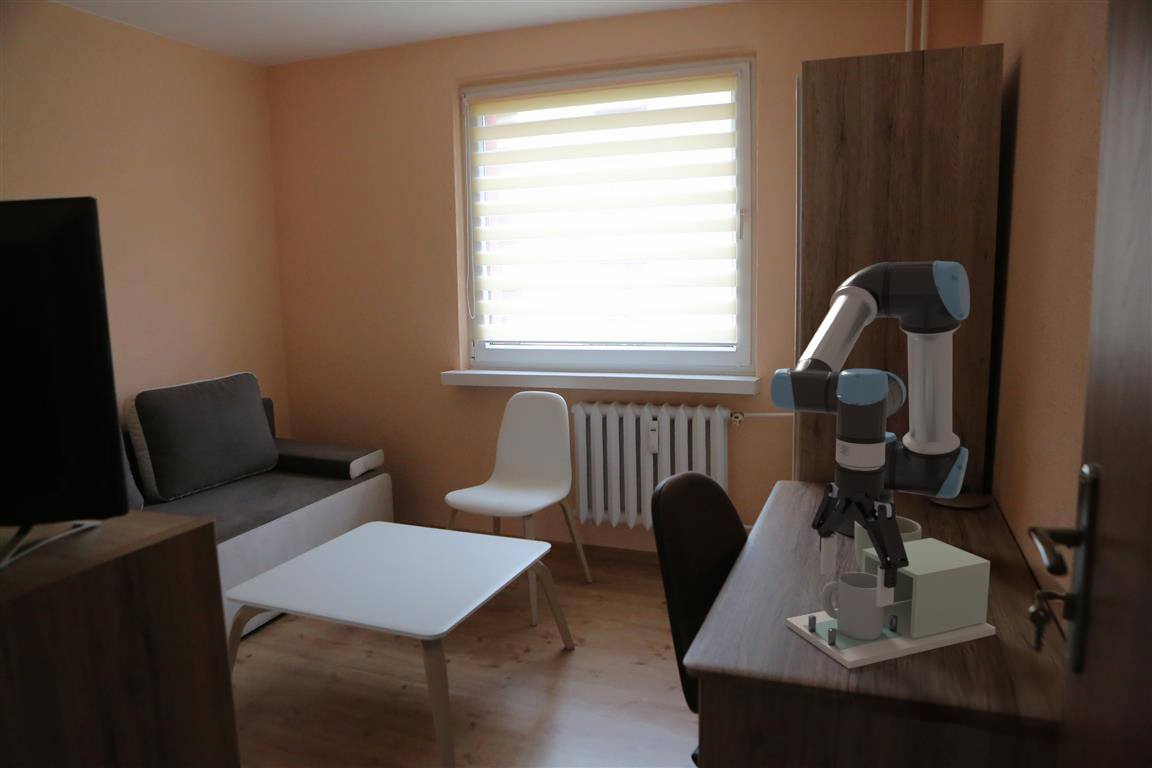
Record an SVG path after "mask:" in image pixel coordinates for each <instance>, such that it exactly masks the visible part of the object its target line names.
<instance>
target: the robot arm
mask: <svg viewBox="0 0 1152 768" xmlns="http://www.w3.org/2000/svg"><path fill="white" fill-rule="evenodd" d="M969 283H970V282H969V277H968V274H967V272H966V270H965V267H964V266H963V265H962V264H961V263H960V262H956V261H942V260H927V261H924V260H923V261H922V260H921V261H896V262H894V261H893V262H892V261H886V262H885V261H884V262H879V263H875V264H872V265H868V266H866V267H864V268H862V269H860V270H858V271H857V272H855V273H853V274H852V275H851V276H849V277H848V278H846V280H844V281H843V282H842V283H841V284H840V285H839V286H838V287H837V288H836V290H835V291H834V293H833V294H832V296H831V298H830V301H829V311H828V312H827V314H826V315H825V317H824V319H823V320H822V322H821V323H820V325H819V327H818V329H817V330H816V332H815V334H814V335H813V337H812V338H811V340H810V342H809V343H808V345H807V346H806V348H805V350H804V351H803V353H802V354H801V356H800V357H799V360H798V361H797V363H796V364H795V366H794V367H793V368H791V367H787V368H779V369H776V370H775V372H773V374H772V377H771V380H770V384H769V394H770V400H771V403H772V404H773V405H774V407H776V408H777V409H784V410H787V411H788V410H790V411H793V412H805V413H818V414H831V415H836V433H835V435H836V436H835V440H836V441H835V442H836V443H835V461H836V462H837V463H836V465H835V466H834V482H830V483H825V485H824V492H823V496H822V499H821V501H820V503H819V505H818V508H817V511H816V513H815V515H814V518H813V520H812V522H811V524H810V525H811V529H812V530H813V531H815V530H816V531H817V534H818V536H819V553H820V569H819V570H820V573H819V574H820V575H822V576H824V575H829V574H835V573H836V572H837V552H838V551H837V550H838V549H837V548H838V547H837V546H838V545H837V544H838V537H837V536H835V535H836V534H837V532H838V533H840V534H842V535H846V536H848V537H849V536H850V537H854V538H855V521H856V522H858V523H860V524H861V526H862V528H864V529H866V531H867V533H868V535H869V537H870V540H871V542H872V544H873V546H874V548H875V551H876V553H877V555H878V557H879V559H880V561H881V564H882V565H881V566H878V576H877V600H876V605H877V606H879V607H882V606H887V605H891V604H893V599H894V587H896V585H897V569H898V568H903V567H907V566H909V561H908V558H907V555H906V551H905V548H904V544H903V541H902V538H901V534H900V531H899V527H898V524H897V521H896V516H898V515H897V510H896V505H895V503H894V492H899V493H908V494H914V495H922V496H928V497H933V498H935V499H938V498H942V499H954V498H956V497H957V496H959V494H960V491H961V488H962V486H963V482H964V478H965V476H966V475H965V474H966V471H967V470H966V469H967V466H968V465H967V464H968V461H969V450H968V448H966V447H964V446H961V440H960V438H959V436H958V435H957V434H955V433H954V432H953V335H954V334H953V333H955V332H957V330H958V329H959V328H960V327H961V324H962V321H963V320H965V319H967V318H968V317H969V314H970V310H971V302H970V301H971V294H970V293H971V291H970V284H969ZM878 318H879V319H880V318H891V319H898V320H899V321H898V323H899V329H900V331H902V332H903V333H904V334H906V336H907V372H908V379H907V380H908V381H907V382H908V417H909V419H908V420H909V421H908V423H909V426H908V427H909V431H908V432H907V433H906V434H905V435H904V436H903V437H902V441H901V440H898V438H897V436H896V434H895V433H893V432H889V431H886V429H887V418H888V417H890V416H892V415H894V414H896V413H897V412H898V411H899V410H900V409H901V407H902V406H903V405H904V403H905V401H906V398H907V388H906V385H905V384H904V382H903V380H902V379H901V377H899V376H898V375H896V374H894V373H892V372H889V371H883V370H880V369H876V368H851V369H844V370H842V368H843V367H844V365H845V362H846V361H847V358H848V357H849V355H850V353H851V352H852V350H853V348H854V346H855V344H856V343H857V340H858V339H859V337H860V335H861V333H862V332H863V330H864V328H865V326H868V325H870V324H872V322H873V321H874V319H878ZM841 370H842V371H841ZM872 518H874V521H870V520H872ZM888 557H889V560H888Z"/></svg>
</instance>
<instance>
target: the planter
mask: <svg viewBox="0 0 1152 768" xmlns="http://www.w3.org/2000/svg"><path fill="white" fill-rule="evenodd" d="M870 521H874V518H872V520H870ZM896 521H897V524H898V527H899V531H900V534H901V538H902V541H903V542H909V541H915V540H921V539H922V526H921V524H920V523H919V522H916V521H915V520H913V519H909V518H906V517H903V516H898V515H897V516H896ZM868 548H874V546H873V544H872V542H871V540H870V537H869V535H868V533H867V531H866V529H864V528H862V526H861V524H860V523H858V522H856V521H855V537H854V549H855V558H856V559H855V560H856V564H857V565H858V568H859V569H860V570H862V549H868Z"/></svg>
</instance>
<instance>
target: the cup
mask: <svg viewBox="0 0 1152 768" xmlns="http://www.w3.org/2000/svg"><path fill="white" fill-rule="evenodd" d="M834 591H838V592H837V608H838V610H835V609H836V608H834V606H833V605H832V596H833V593H834ZM876 600H877V576H875V575H872V574H868V573H863V572H861V571H849V572H848V571H847V572H844V573H841V574H840V575H839V576H838V580H831V581H828V582H826V583H825V585H824V586H823V588H822V591H821V604H822V605H821V606H822V608H823V611H825V612H826V613H827V614H828V616H830V617H831V618H833V619H837V627H838V629H839V631H840V632H841V633H842V634H844V635H845V636H847V637H850V638H853V639H857V640H866V641H867V640H875V639H877V638H879V637H880V636H881V635H882V632H883V617H884V606H882V607H879V606H877V605H876Z"/></svg>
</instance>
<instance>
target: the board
mask: <svg viewBox="0 0 1152 768" xmlns="http://www.w3.org/2000/svg"><path fill="white" fill-rule="evenodd" d="M834 609H835V610H838V607H837V608H834ZM911 611H912V599H911V600H906V601H901V602H896V603H893V604H891V605H887V606H884V617H883V632H882V635H881V636H880V637H879V638H877V639H875V640H867V641H866V640H857V639H853V638H850V637H847V636H845V635H844V634H842V633H841V632H840V631H839V629H838V627H837V619H833V618H831V617H830V616H828V614H827V613H826V612H825V610H823V611H822V610H821V611H817V612H813V613H807V614H803V615H797V616H793V617H787V618H785V626H786V627H787V628H789V629H790V630H792V631H793V632H795V633H796V634H797V635H799V636H801V637H802V638H803V639H805V640H806V641H808V642H809V643H811V644H812V645H813V646H816V648H818V649H819V650H821V651H822V652H824V653H825V654H827V656H829V657H831V658H832V659H834V660H835V661H837V662H838V663H840V664H841V665H843V666H844V667H845V668H847V669H854V668H859V667H863V666H866V665H871V664H875V663H876V664H877V663H880V662H883V661H887V660H888V661H889V660H892V659H897V658H900V657H901V658H902V657H905V656H909V655H913V654H918V653H922V652H925V651H931V650H934V649H939V648H942V647H947V646H951V645H955V644H960V643H964V642H968V641H972V640H977V639H981V638H986V637H989V636H994V635H996V626H994V625H993V626H992V624H990V623H987V622H984V623H979V624H975V625H970V626H966V627H962V628H957V629H953V630H948V631H944V632H940V633H935V634H931V635H926V636H922V637H918V638H912V637H911V636H910V630H911ZM810 615H813V616H816V631H815V632H813V633H811V632H809V631H808V621H809V616H810ZM890 615H895V616H897V617H898V623H897V632H892V631H890V630H889V626H890ZM829 628H834V629H836V645H834V646H830V645H828V629H829Z"/></svg>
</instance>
